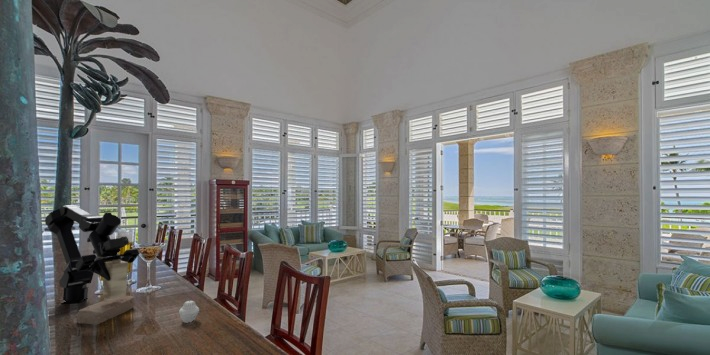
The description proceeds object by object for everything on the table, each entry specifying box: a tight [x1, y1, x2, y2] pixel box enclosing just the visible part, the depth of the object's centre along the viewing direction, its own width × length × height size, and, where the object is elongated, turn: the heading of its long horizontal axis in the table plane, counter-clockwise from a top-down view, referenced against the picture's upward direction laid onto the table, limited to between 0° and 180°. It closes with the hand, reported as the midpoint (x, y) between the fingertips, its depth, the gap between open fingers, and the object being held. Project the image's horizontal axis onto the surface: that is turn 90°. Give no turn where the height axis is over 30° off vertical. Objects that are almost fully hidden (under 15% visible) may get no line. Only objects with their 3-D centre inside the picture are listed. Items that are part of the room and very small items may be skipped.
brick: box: [76, 295, 136, 326], centre depth 119 cm, size 17×8×5 cm, turn 175°
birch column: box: [102, 260, 129, 299], centre depth 121 cm, size 5×5×13 cm
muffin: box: [179, 300, 200, 324], centre depth 116 cm, size 6×6×7 cm
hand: (117, 278), depth 120 cm, fingers closed on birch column, 5 cm apart
